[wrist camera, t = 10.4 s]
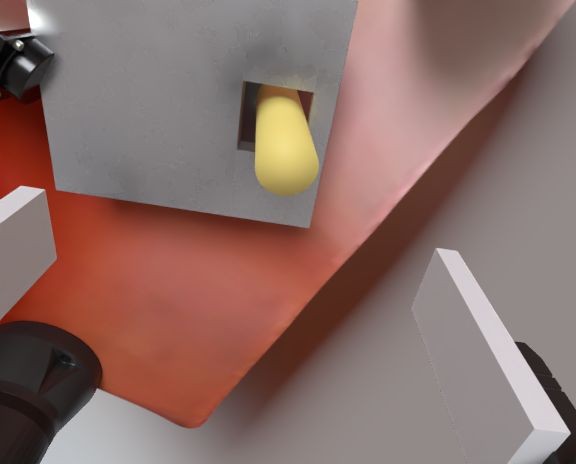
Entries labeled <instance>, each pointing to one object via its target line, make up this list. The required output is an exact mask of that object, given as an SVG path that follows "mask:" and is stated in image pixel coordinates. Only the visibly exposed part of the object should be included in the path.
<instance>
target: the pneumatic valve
mask: <svg viewBox="0 0 576 464" xmlns="http://www.w3.org/2000/svg"><path fill="white" fill-rule="evenodd" d="M34 36H35V35H34V34H33V33H31V27H30V21H29V15H28V8H27V2H26V0H0V101H1V100H3V99H6V98H9V97H13V98H14V99H15V100H17V101H18V102H20V103H21V104H24V105H26V104H30V103H33V102H35V101H36V100H38V99H39V98H40V97H41V90H40V82H41V80H42V78H43V76H44V74H45V72H46V70H47V68H48V67H49V65H50V63H51V61H52V59H53V57H54V53H53V52H52V51H50V50H49V49H48V48H47V47H45V46H44V45H43V44H41V43H40V42H39V41H37V40H36V39H35V38H34Z"/></svg>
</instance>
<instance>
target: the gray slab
mask: <svg viewBox="0 0 576 464" xmlns="http://www.w3.org/2000/svg"><path fill="white" fill-rule="evenodd" d="M26 2H27V8H28V15H29V21H30V27H31V33H33V34H34V35H35V36H34V38H35V39H36V40H37V41H39V42H40V43H41V44H43V45H44V46H45V47H47V48H48V49H49V50H50V51H52V52H53V53H54V57H53V59H52V61H51V63H50V65H49V67H48V68H47V70H46V72H45V74H44V76H43V78H42V80H41V82H40V90H41V97H42V103H43V109H44V116H45V122H46V128H47V135H48V141H49V147H50V154H51V160H52V166H53V172H54V179H55V185H56V190H60V191H66V192H73V193H79V194H86V195H93V196H99V197H106V198H112V199H119V200H126V201H132V202H139V203H145V204H152V205H159V206H165V207H172V208H178V209H185V210H192V211H198V212H205V213H211V214H218V215H225V216H231V217H238V218H244V219H251V220H258V221H264V222H271V223H277V224H284V225H291V226H297V227H304V228H310V223H311V218H312V214H313V209H314V204H315V200H316V195H317V190H318V186H319V181H320V176H321V172H322V167H323V162H324V158H325V153H326V149H327V144H328V139H329V135H330V130H331V125H332V121H333V116H334V111H335V107H336V102H337V97H338V93H339V88H340V83H341V79H342V74H343V69H344V65H345V60H346V55H347V51H348V46H349V41H350V37H351V32H352V28H353V23H354V18H355V14H356V9H357V4H358V1H354V0H26ZM262 84H267V85H273V86H278V87H284V88H290V89H296V90H302V91H308V92H312V97H311V103H310V108H309V114H308V119H307V124H308V127H309V131H310V134H311V137H312V141H313V144H314V147H315V150H316V154H317V157H318V161H319V170H318V174H317V177H316V179H315V180H314V182H313V183H312V185H311V186H310V187H309V188H307V189H306V190H304V191H303V192H301V193H299V194H295V195H291V196H282V195H277V194H274V193H271V192H270V191H268V190H267V189H265V188H264V187H263V186H262V185H261V183H260V182H259V180H258V179H257V176H256V172H255V143H256V102H257V92H258V89H259V87H260V86H261V85H262Z"/></svg>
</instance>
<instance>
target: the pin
mask: <svg viewBox="0 0 576 464" xmlns="http://www.w3.org/2000/svg"><path fill="white" fill-rule="evenodd" d="M318 170H319V161H318V157H317V154H316V150H315V147H314V144H313V141H312V137H311V134H310V131H309V127H308V124H307V121H306V118H305V114H304V111H303V108H302V104H301V101H300V98H299V95H298V91H297V90H296V89H290V88H284V87H278V86H273V85H267V84H262V85H261V86H260V87H259V89H258V92H257V102H256V143H255V172H256V176H257V179H258V180H259V182H260V183H261V185H262V186H263V187H264V188H265V189H267V190H268V191H270V192H271V193H274V194H277V195H282V196H291V195H295V194H299V193H301V192H303V191H304V190H306V189H307V188H309V187H310V186H311V185H312V183H313V182H314V180H315V179H316V177H317V174H318Z"/></svg>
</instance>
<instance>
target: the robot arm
mask: <svg viewBox="0 0 576 464" xmlns="http://www.w3.org/2000/svg"><path fill="white" fill-rule="evenodd" d="M56 259H57V256H56V250H55V244H54V238H53V232H52V227H51V221H50V215H49V209H48V203H47V197H46V192H45V189H38V188H31V187H25V186H20V187H19V188H17V189H16V190H14V191H13V192H11V193H10V194H8V195H7V196H5V197H4V198H2V199H1V200H0V320H1V319H2V317H3V316H4V315H5V314H6V313H7V312H8V311H9V310H10V309H11V308H12V307H13V306H14V305H15V303H16V302H17V301H18V300H19V299H20V298H21V297H22V296H23V295H24V294H25V293H26V292H27V291H28V289H29V288H30V287H31V286H32V285H33V284H34V283H35V282H36V281H37V280H38V279H39V278H40V277H41V275H42V274H43V273H44V272H45V271H46V270H47V269H48V268H49V267H50V266H51V265H52V264H53V263H54V261H55V260H56ZM411 310H412V313H413V315H414V318H415V321H416V324H417V327H418V329H419V332H420V335H421V338H422V341H423V343H424V346H425V349H426V352H427V354H428V357H429V360H430V363H431V366H432V368H433V371H434V374H435V377H436V380H437V382H438V385H439V388H440V391H441V394H442V396H443V399H444V402H445V405H446V407H447V410H448V413H449V416H450V418H451V421H452V424H453V427H454V430H455V433H456V435H457V438H458V441H459V444H460V447H461V449H462V452H463V455H464V457H465V460H466V463H467V464H576V409H575V408H574V406H573V405H572V403H571V402H570V400H569V399H568V397H567V396H566V394H565V393H564V392H562V391H561V387H560V386H559V384H558V382H557V381H556V379H555V378H552V373H551V372H550V370H549V369H548V367H547V366H546V364H545V363H544V361H543V360H542V359H541V357H539V356H538V355H537V354H536V353H535V352H534V351H533V350H532V349H531V348H530V347H529V346H528V345H526V344H525V343H522V342H514V341H513V340H512V338H511V336H510V335H509V333H508V332H507V330H506V329H505V327H504V325H503V323H502V322H501V320H500V319H499V317H498V315H497V314H496V312H495V311H494V309H493V307H492V306H491V304H490V303H489V301H488V299H487V298H486V296H485V295H484V293H483V291H482V290H481V288H480V287H479V285H478V283H477V282H476V280H475V279H474V277H473V275H472V274H471V272H470V271H469V269H468V267H467V266H466V264H465V263H464V261H463V260H462V258H461V256H460V255H459V253H458V251H453V250H447V249H440V248H436V249H435V252H434V254H433V256H432V259H431V261H430V263H429V266H428V268H427V271H426V273H425V276H424V278H423V280H422V283H421V285H420V287H419V290H418V292H417V295H416V297H415V299H414V302H413V304H412V307H411ZM101 377H102V370H101V366H100V363H99V361H98V359H97V357H96V356H95V354H94V353H93V352H92V350H91V349H90V348H89V347H88V346H87V345H86V344H84V343H83V342H82V341H81V340H79V339H78V338H76V337H75V336H73V335H72V334H70V333H68V332H66V331H64V330H62V329H59V328H57V327H54V326H51V325H47V324H43V323H39V322H31V321H16V322H9V323H5V324H2V325H0V464H40V462H41V460H42V458H43V456H44V455H45V453H46V451H47V449H48V447H49V445H50V444H51V442H52V440H53V438H54V437H55V435H56V434H57V432H58V431H59V430H60V429H61V428H62V427H63V426H64V425H65V424H67V422H68V421H70V420H71V419H72V418H73V417H74V416H75V415H76V414H77V413H78V412H79V411H80V410H81V408H83V406H85V405H86V404H87V403H88V402H89V400H90V399H91V398H92V396H93V395H94V393H95V391H96V389H97V387H98V385H99V383H100V381H101Z"/></svg>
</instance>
